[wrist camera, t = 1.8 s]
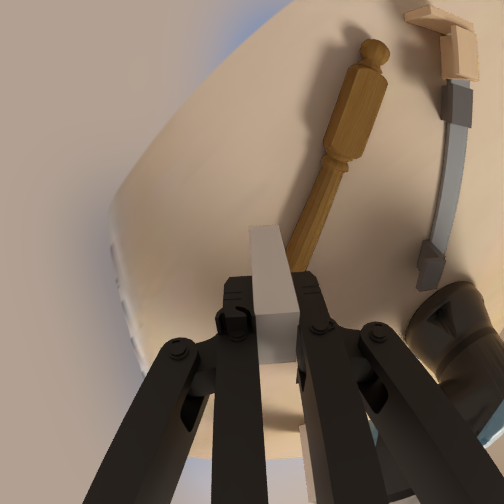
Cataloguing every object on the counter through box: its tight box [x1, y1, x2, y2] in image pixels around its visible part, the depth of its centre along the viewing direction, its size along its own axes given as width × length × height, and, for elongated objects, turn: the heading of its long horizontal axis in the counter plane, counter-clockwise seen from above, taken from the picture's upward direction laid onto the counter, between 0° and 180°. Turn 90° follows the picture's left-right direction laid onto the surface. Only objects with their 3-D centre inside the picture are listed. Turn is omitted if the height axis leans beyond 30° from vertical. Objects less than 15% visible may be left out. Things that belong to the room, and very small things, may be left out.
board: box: [404, 5, 479, 292], centre depth 24 cm, size 33×9×6 cm, turn 3°
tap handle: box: [285, 39, 390, 272], centre depth 26 cm, size 3×3×30 cm
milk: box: [299, 424, 317, 504], centre depth 46 cm, size 6×6×22 cm
